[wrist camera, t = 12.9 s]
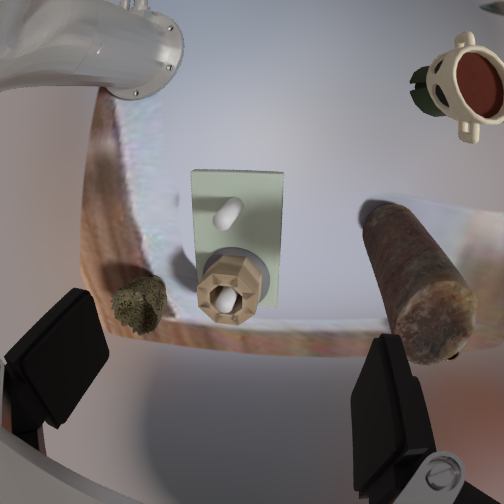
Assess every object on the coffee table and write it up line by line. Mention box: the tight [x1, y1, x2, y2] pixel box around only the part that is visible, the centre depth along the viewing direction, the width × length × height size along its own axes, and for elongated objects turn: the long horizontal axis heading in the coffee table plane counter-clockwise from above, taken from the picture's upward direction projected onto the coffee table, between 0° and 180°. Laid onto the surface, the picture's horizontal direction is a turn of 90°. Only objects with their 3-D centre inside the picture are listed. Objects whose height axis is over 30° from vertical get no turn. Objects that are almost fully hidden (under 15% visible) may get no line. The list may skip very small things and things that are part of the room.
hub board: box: [191, 169, 284, 313], centre depth 36 cm, size 18×11×8 cm, turn 179°
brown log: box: [363, 204, 478, 365], centre depth 27 cm, size 8×7×20 cm
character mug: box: [410, 31, 504, 144], centre depth 22 cm, size 11×7×13 cm, turn 2°
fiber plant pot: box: [111, 276, 167, 335], centre depth 42 cm, size 8×7×8 cm
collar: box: [197, 255, 262, 325], centre depth 38 cm, size 7×7×5 cm
